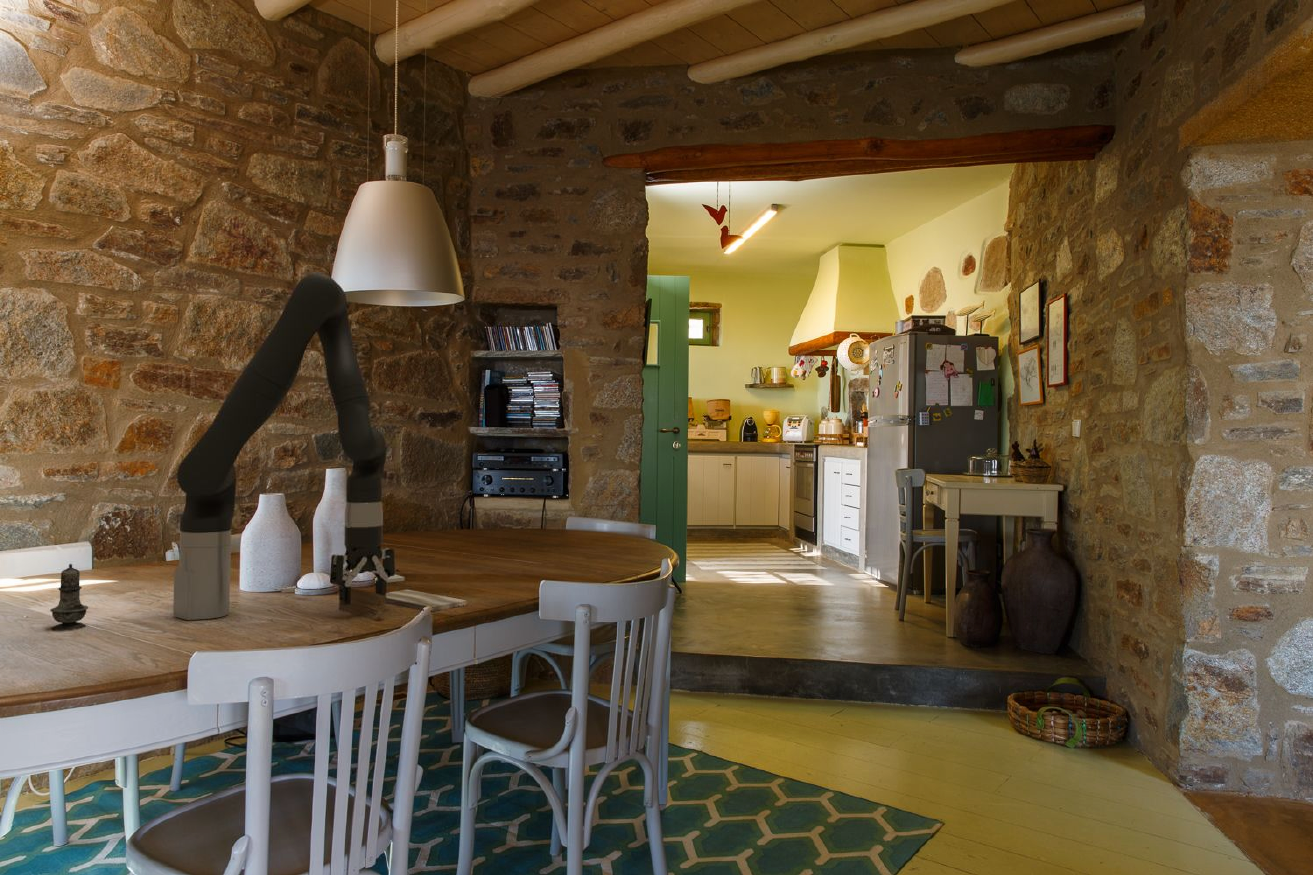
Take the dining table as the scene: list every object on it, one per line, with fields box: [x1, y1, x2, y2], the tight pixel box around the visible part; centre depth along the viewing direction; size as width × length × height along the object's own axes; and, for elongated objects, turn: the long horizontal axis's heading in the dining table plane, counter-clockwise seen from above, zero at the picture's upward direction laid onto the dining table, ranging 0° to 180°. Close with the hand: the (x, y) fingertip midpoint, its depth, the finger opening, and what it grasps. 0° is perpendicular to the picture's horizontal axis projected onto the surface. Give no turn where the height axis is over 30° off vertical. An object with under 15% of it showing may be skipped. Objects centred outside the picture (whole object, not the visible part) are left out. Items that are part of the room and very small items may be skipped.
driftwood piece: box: [337, 586, 387, 621], centre depth 178 cm, size 15×2×5 cm, turn 54°
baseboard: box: [280, 569, 406, 594], centre depth 213 cm, size 30×3×10 cm
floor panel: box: [386, 589, 468, 612], centre depth 192 cm, size 10×20×1 cm, turn 56°
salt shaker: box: [49, 563, 89, 632], centre depth 160 cm, size 6×6×12 cm
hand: (363, 601), depth 178 cm, fingers open, 8 cm apart
